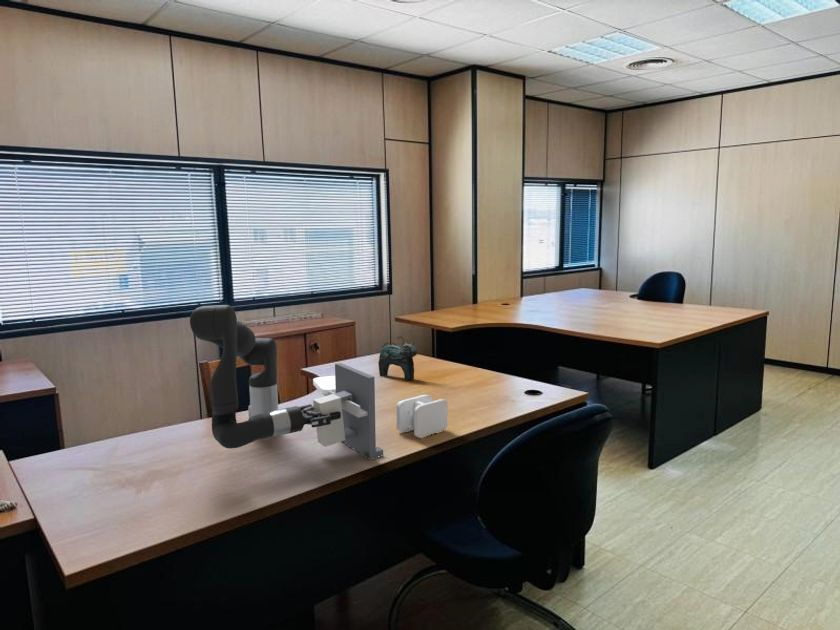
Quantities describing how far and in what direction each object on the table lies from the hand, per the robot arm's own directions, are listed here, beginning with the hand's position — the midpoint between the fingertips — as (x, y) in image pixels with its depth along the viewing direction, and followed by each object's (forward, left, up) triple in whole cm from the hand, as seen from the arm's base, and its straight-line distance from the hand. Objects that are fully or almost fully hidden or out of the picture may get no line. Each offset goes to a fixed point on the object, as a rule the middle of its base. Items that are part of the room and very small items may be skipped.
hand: (333, 410), depth 178 cm
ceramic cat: (-23, +89, -14) cm, 93 cm away
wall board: (+3, +6, -14) cm, 15 cm away
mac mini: (-39, +66, -15) cm, 78 cm away
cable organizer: (+17, +29, -14) cm, 36 cm away
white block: (0, +1, -9) cm, 9 cm away
